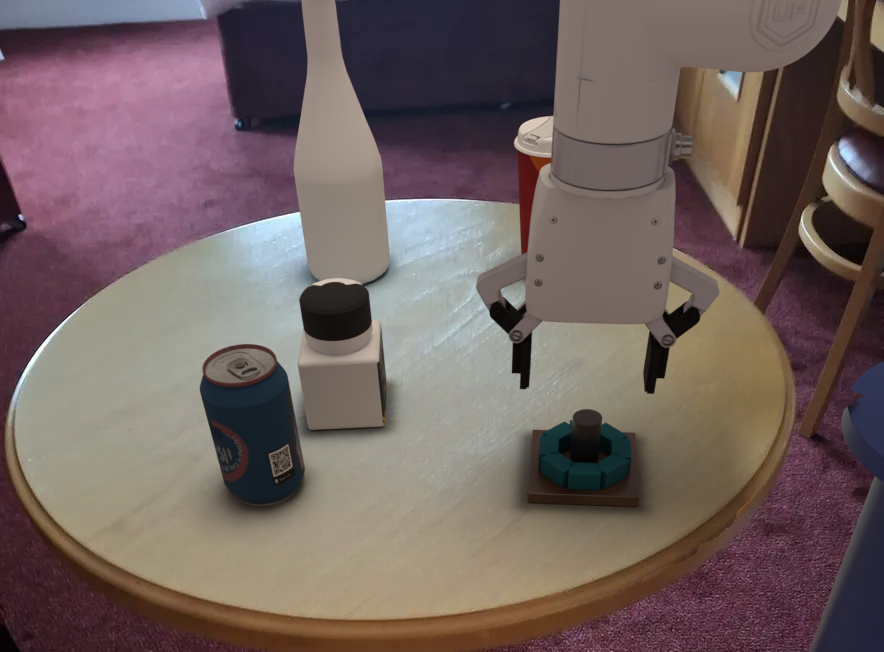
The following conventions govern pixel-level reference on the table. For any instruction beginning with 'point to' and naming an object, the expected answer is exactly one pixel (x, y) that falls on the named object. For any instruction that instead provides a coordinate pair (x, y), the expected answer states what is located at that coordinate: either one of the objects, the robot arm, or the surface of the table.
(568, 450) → the ring post
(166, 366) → the table surface
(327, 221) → the wine bottle
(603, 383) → the table surface
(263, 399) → the soda can
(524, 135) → the coffee cup
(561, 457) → the ring
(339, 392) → the medicine bottle
